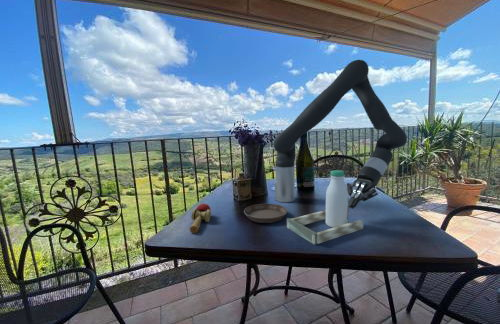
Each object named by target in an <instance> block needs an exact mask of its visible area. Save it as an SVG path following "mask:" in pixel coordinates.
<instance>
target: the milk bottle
mask: <svg viewBox="0 0 500 324" xmlns="http://www.w3.org/2000/svg"><path fill="white" fill-rule="evenodd" d="M349 199H350V198H349V194H348V190H347V185H346V183H345V171H344V170H342V169H341V170H339V169H334V170H333V169H332V170H331V171H330V182H329V185H328V186H327V188H326V192H325V210H326V219H325V224H326V225H327V226H328V227H329V228H330V227H331V228H334V227H337V226H340V225H344V224H347V223H349V207H348V202H349Z"/></svg>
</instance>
